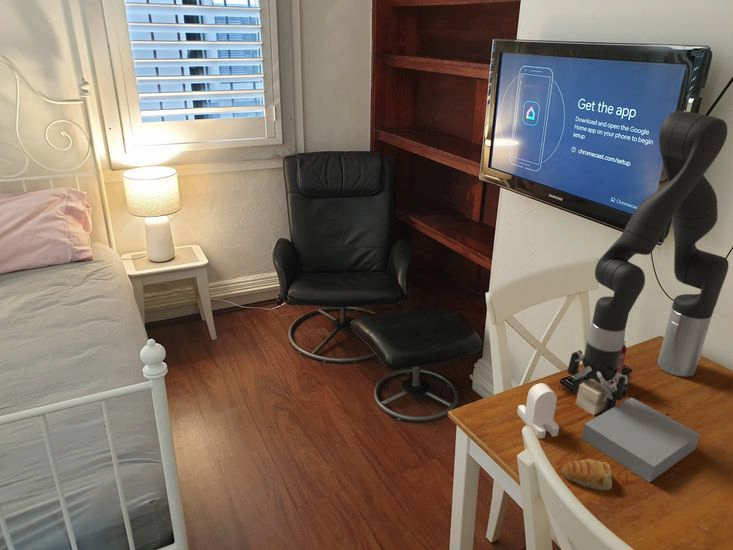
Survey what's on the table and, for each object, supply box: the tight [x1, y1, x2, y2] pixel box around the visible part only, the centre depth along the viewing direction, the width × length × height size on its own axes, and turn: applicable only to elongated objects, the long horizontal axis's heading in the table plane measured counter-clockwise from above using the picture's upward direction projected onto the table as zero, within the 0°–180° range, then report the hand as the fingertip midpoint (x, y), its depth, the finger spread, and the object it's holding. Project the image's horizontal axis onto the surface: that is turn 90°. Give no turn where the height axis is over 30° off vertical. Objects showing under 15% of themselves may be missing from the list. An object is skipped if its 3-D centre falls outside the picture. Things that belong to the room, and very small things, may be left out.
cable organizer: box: [517, 382, 560, 439], centre depth 128 cm, size 5×10×10 cm, turn 14°
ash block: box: [575, 378, 608, 416], centre depth 135 cm, size 5×5×6 cm
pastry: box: [561, 458, 613, 491], centre depth 114 cm, size 9×7×4 cm
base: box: [581, 397, 701, 483], centre depth 123 cm, size 18×16×4 cm
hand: (592, 400), depth 135 cm, fingers open, 8 cm apart
